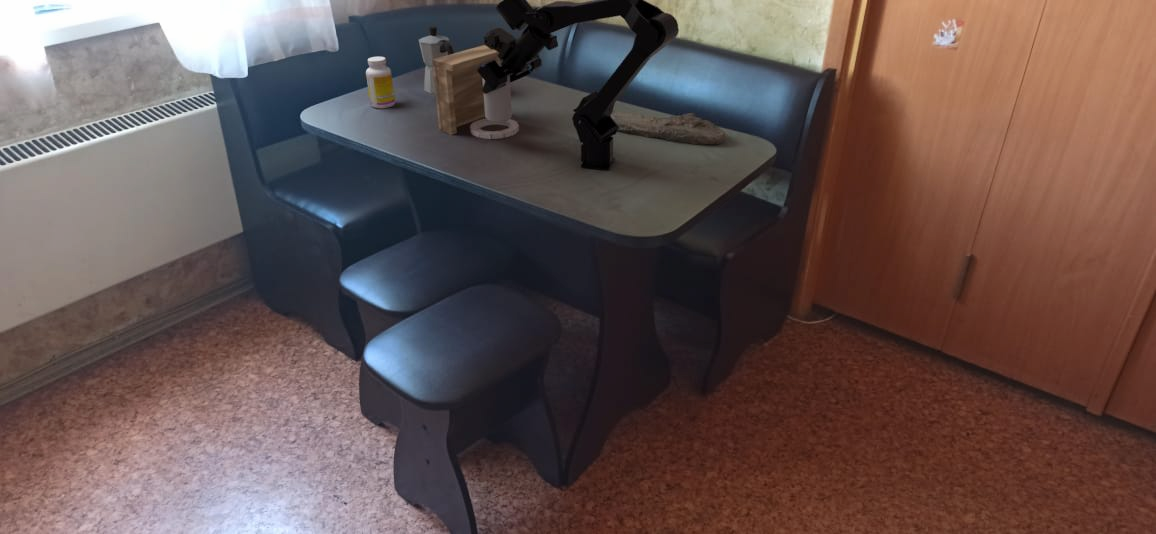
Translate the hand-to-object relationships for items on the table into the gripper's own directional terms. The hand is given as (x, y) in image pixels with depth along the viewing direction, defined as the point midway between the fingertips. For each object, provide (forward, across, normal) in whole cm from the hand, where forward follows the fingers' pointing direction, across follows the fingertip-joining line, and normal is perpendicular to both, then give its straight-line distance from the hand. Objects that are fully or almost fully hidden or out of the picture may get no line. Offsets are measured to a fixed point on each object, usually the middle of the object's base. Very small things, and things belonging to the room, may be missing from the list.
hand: (491, 88), depth 184 cm
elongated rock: (-12, -25, +33) cm, 43 cm away
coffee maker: (+35, -25, -18) cm, 47 cm away
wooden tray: (+18, -7, +1) cm, 19 cm away
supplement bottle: (+39, -7, -22) cm, 46 cm away
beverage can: (+4, 0, +6) cm, 8 cm away
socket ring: (+13, -6, +6) cm, 15 cm away
